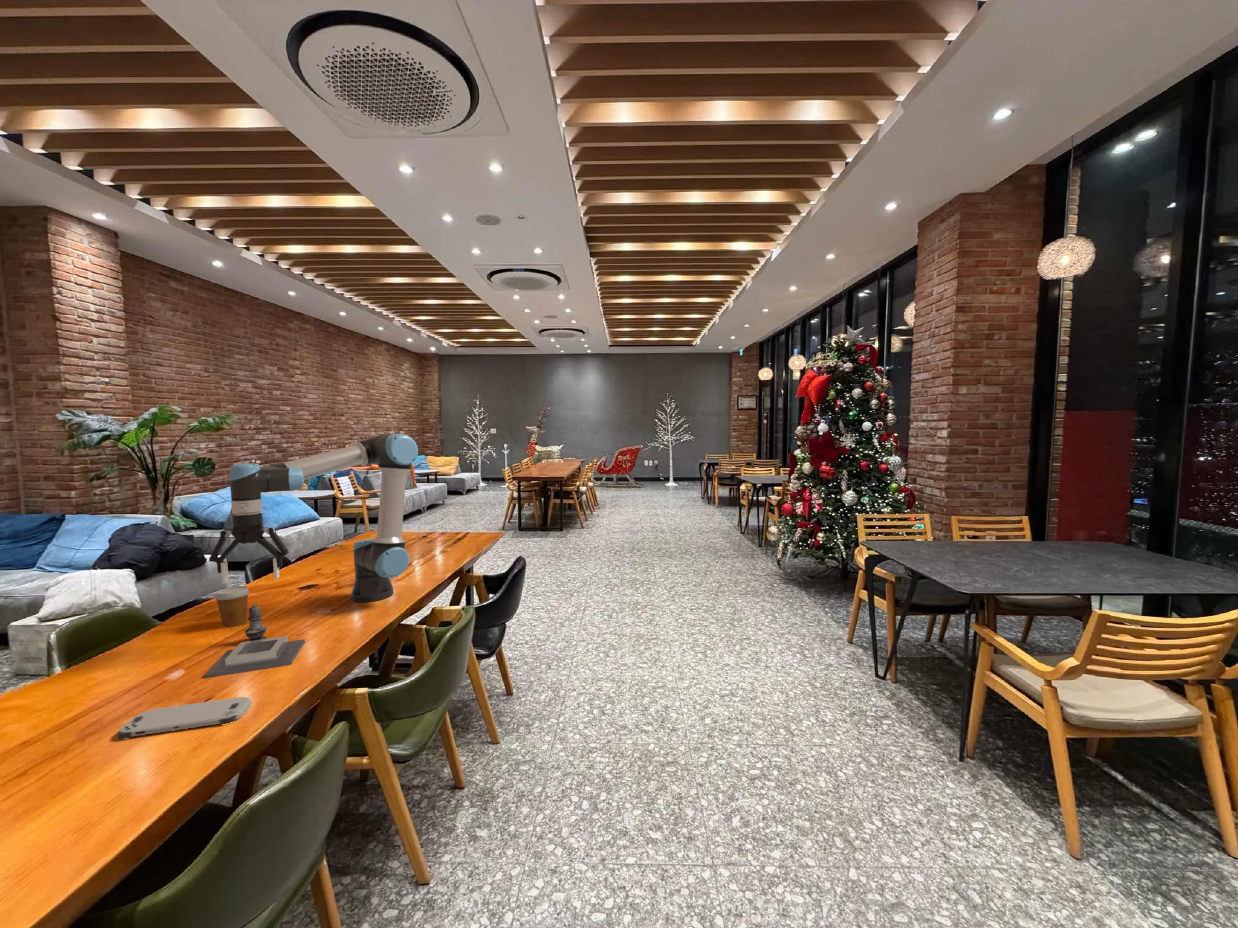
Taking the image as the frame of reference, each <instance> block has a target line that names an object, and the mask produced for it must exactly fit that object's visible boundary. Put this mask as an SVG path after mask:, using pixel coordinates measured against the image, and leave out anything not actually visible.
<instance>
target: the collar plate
mask: <svg viewBox="0 0 1238 928" xmlns="http://www.w3.org/2000/svg"><path fill="white" fill-rule="evenodd" d="M288 637H289V636H288V635H284V636H278V637H271V638H267V639H262V640H255V641H248V640H246V641H242V642H240V643H239V644H238V645H237V646H236V647H235V648H233V649H227V650H226V651H225V652H224V654H223V655H222V656H221V657H220V658H219V659H217V661H216V662H215V663H214V664H213V665H212V666H211V667H210V668H209V669H208V670H207V672H205V673H204V677H205V678H206V679H207V678H211V677H210V676H213V677H219V675H220V676H225V675H232V674H237V673H239V674H240V673H244V672H252V671H257V670H259V671H260V670H265V669H271V668H277V667H283V665H284V666H289V664H291V665H292V664H293V663H294V661H295V660H296V658H297V656H298V654H299V653H300V651H302V649H303V646H304V645H305V643H306V639H296V640H291V641H289V638H288ZM294 659H295V660H294ZM292 662H293V663H292Z"/></svg>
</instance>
